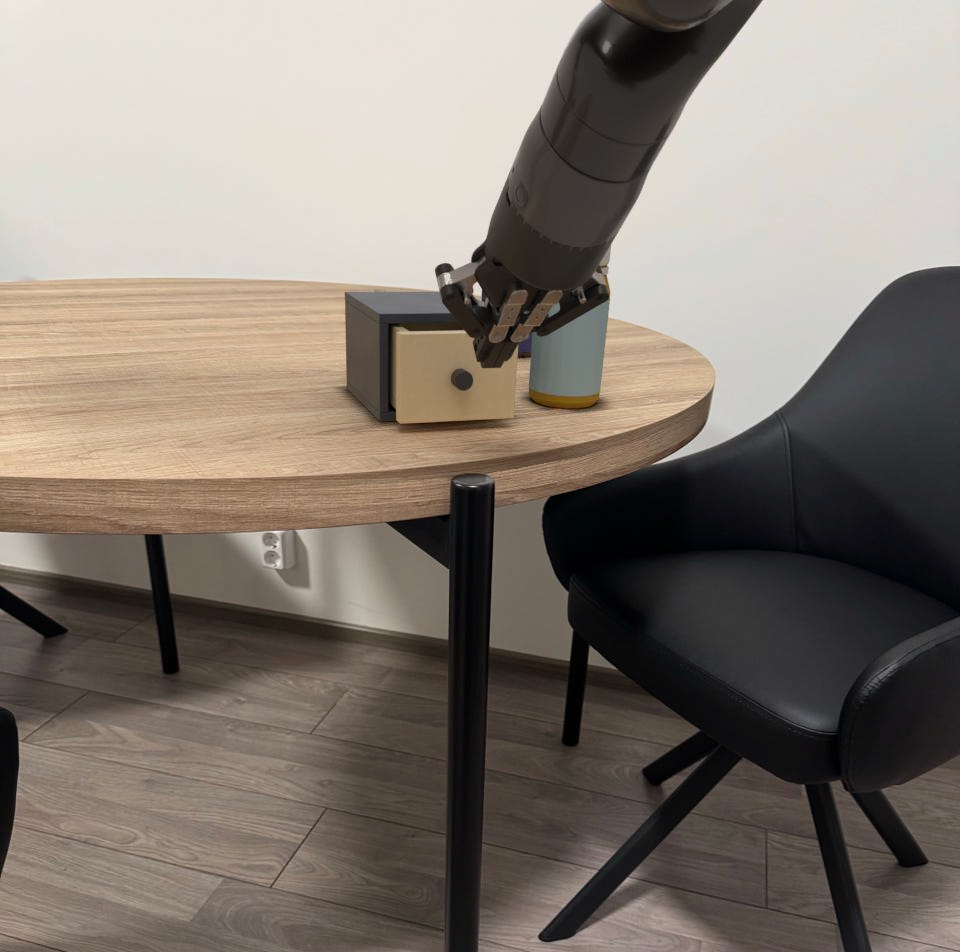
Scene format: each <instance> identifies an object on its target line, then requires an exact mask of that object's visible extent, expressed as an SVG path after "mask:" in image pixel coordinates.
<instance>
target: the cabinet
mask: <svg viewBox="0 0 960 952" xmlns="http://www.w3.org/2000/svg"><path fill="white" fill-rule="evenodd" d="M476 300H477V301H478V305H479V306H483V307H484V304H485V302H483V301H482V300H480V299H478V298H476ZM344 319H345V322H344V324H345V369H346V370H345V371H346V374H345V375H346V390H347V391H348V392H350V394H351V395H353V397H354V398H356V399H357V400H358V401H359V402H360V404H362V405H363V407H364V408H365V409H366V410H367V411H369V413H371V415H373V416H374V418H376V419H377V420H378V421H379V422H380V423H381V422H398V421H397V420H396V409H395V408H394V407H393V406H392V405H391V404H390V403H389V402H388V324H394V323H458V322H457V320H456V319H455V318H454V317H453V315H452V314H451V313H450V312H449V310H448V309H447V308H446V307H445V305H444V304H443V303H442V299H441V295H440V291H386V292H375V291H345V292H344Z"/></svg>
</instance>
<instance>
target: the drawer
mask: <svg viewBox="0 0 960 952" xmlns="http://www.w3.org/2000/svg"><path fill="white" fill-rule="evenodd" d="M473 340H474V338H471V337H469V335H468V334H467V333H466V332H465V330H464V329H463V328H462V327H461V325H460V324H459V323H394V324H388V402H389V403H390V404H391V405H392V406H393V407H394V408H395V409H396V420H397V421H396V422H397V423H398V424H399V425H403V424H404V425H405V424H406V425H407V424H423V423H441V422H442V423H444V422H462V421H465V422H466V421H481V420H482V421H484V420H485V421H486V420H502V419H514V418H515V405H516V390H517V389H516V388H517V374H518V373H517V372H518V371H517V370H518V358H519V357H518V346H517V347H516V349H515V351H514V353H513V355H512V357H511V358H510V359H509V360H508V361H504V363H503V365H502V367H501V368H482V367H481V364H480V362H477V360H476V356H475V351H474V347H473Z"/></svg>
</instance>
